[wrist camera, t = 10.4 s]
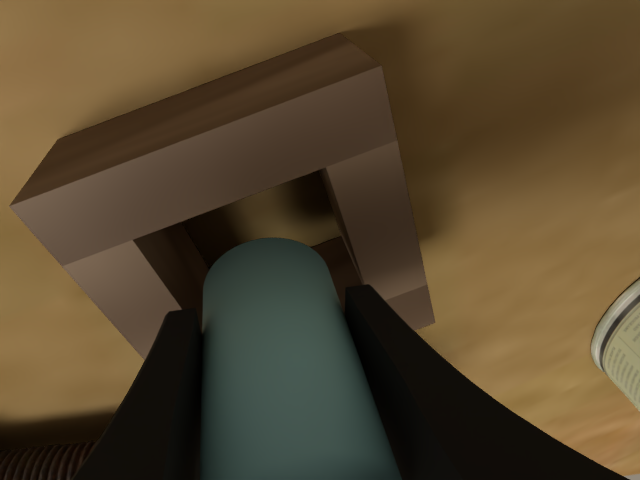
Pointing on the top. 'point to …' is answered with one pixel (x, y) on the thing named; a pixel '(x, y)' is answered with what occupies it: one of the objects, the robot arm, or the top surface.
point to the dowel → (283, 373)
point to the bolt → (44, 462)
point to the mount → (230, 185)
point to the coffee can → (621, 343)
